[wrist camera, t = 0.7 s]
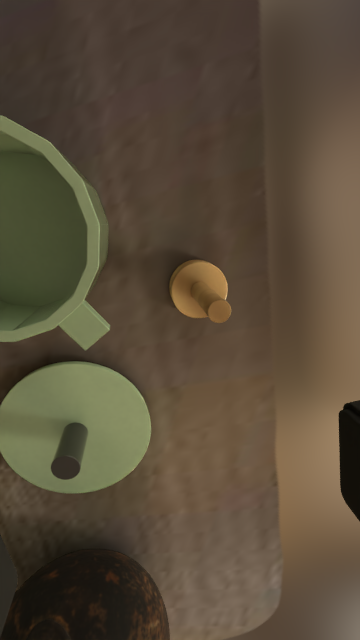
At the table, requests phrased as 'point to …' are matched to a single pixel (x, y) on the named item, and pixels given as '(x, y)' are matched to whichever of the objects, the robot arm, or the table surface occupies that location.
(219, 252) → the table surface
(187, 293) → the disc with rod handle
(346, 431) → the robot arm
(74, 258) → the pot
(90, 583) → the glass bottle
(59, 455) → the pot lid
